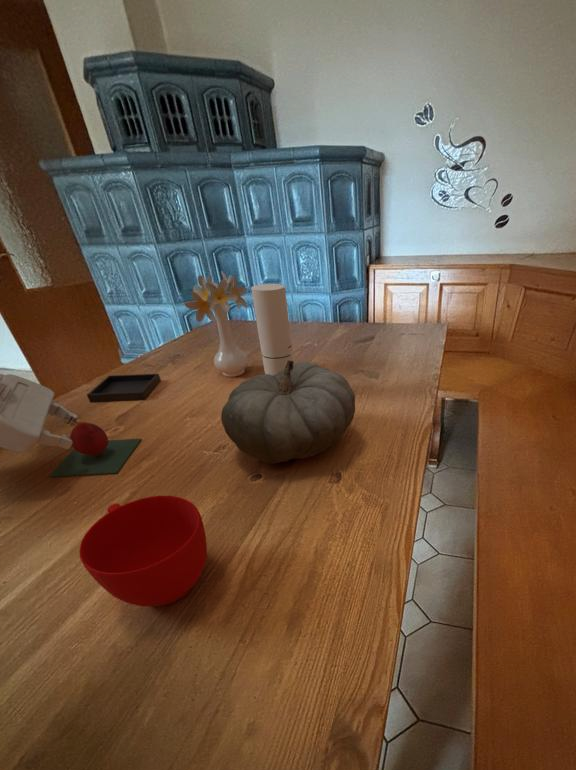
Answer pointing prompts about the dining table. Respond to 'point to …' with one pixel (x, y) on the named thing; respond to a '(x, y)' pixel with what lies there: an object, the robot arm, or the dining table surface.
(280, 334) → the cylindrical container
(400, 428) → the dining table surface
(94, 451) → the onion
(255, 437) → the gourd
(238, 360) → the flower vase
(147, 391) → the tray
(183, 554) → the ceramic cup
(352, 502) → the dining table surface
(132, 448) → the mat
